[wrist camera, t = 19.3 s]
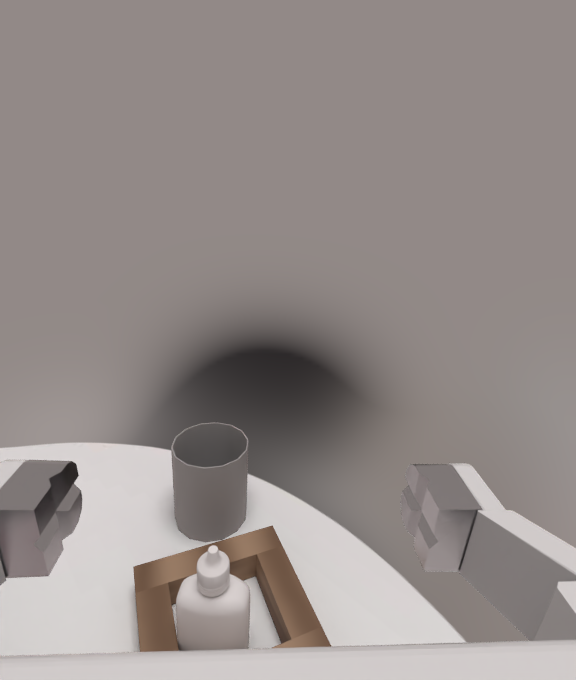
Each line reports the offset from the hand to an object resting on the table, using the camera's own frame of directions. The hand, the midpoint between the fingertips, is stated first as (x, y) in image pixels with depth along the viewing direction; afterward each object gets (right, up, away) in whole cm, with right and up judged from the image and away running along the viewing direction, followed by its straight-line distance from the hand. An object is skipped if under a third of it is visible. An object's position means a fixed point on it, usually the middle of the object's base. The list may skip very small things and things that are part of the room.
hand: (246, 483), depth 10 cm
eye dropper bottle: (-5, -23, +23) cm, 33 cm away
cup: (-8, -18, +38) cm, 42 cm away
